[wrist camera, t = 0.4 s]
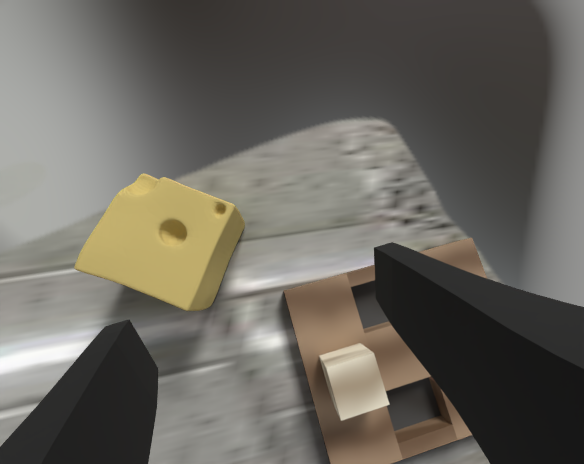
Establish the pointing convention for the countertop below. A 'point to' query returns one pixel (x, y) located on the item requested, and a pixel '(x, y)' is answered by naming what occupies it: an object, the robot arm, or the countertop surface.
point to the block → (353, 381)
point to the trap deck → (390, 359)
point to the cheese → (164, 242)
